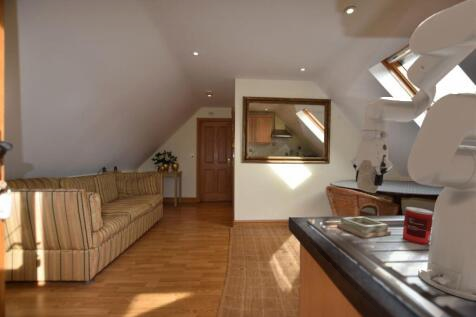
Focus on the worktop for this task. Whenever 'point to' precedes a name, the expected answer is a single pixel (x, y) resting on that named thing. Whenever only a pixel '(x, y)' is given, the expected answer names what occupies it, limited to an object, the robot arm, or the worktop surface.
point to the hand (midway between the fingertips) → (368, 183)
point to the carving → (367, 177)
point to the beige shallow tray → (364, 226)
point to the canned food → (417, 225)
